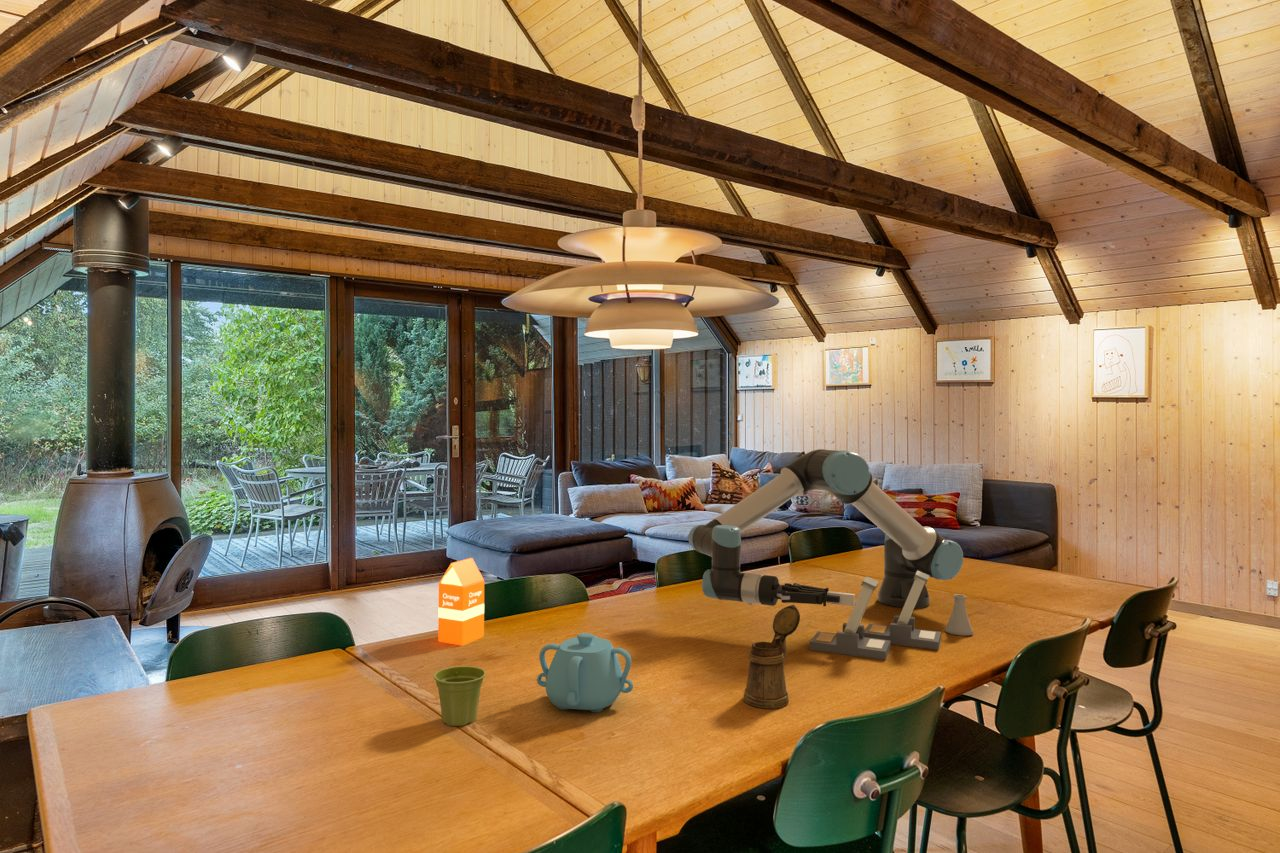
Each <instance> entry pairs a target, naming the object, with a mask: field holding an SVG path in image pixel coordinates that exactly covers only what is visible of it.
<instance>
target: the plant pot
mask: <svg viewBox="0 0 1280 853" xmlns="http://www.w3.org/2000/svg"><path fill="white" fill-rule="evenodd" d="M486 673H487V672H486V670H485V669H483V668H480V667H478V666H471V665H470V666H469V665H464V666H463V665H460V666H459V665H458V666H451V667H446V668H442V669H440V670H438V671H435V673H434V674H433V680H434V681H435V683H436V687H437V690H438V695H439V702H440V710H441V718H442V719H441V720H442V723H445V724H446V725H448V726H451V727H455V726H456V727H457V726H459V727H462V726H466V725H467V724H469V723H475V721H476V719H477V715H478V710H479V709H478V708H479V700H480V696H481V695H480V694H481V688H482V685H483V683H484V681H483V680H484V678H485V677H486V675H487V674H486Z"/></svg>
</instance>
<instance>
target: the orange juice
mask: <svg viewBox="0 0 1280 853" xmlns="http://www.w3.org/2000/svg"><path fill="white" fill-rule="evenodd" d="M483 577H484V576H482V574H481V571H480V570H479V568H478V566H477V564H476V562H475V561H474V558H473V557H469V558H466V559H465V558H464V559H461V560H457V561H454V562H450V564H449V566H448V568H447V569H446V571H445V572H444V575H443V576H442V578H441V579H440V581H439V582H438V607H437V608H438V612H437V613H438V614H437V616H438V620H437V621H438V622H437V624H438V627H437V628H438V630H437V631H438V632H437V637H438V638H437V639H438V640H437V641H438V642H439V643H446V644H452V645H456V646H457V645H458V646H463V647H464V646H465V645H468V644H470V643H471V642H474V641H477V640H480V639H481V638H483V637H484V635H485V580H484V578H483Z"/></svg>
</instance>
